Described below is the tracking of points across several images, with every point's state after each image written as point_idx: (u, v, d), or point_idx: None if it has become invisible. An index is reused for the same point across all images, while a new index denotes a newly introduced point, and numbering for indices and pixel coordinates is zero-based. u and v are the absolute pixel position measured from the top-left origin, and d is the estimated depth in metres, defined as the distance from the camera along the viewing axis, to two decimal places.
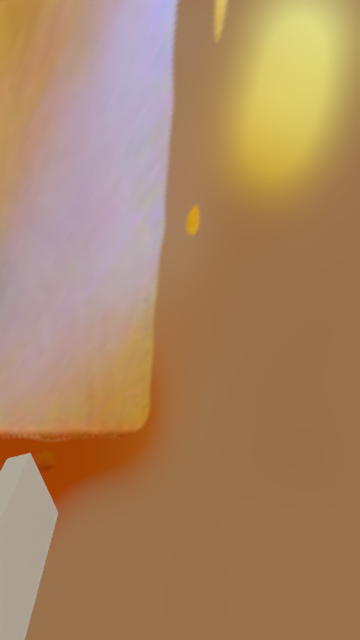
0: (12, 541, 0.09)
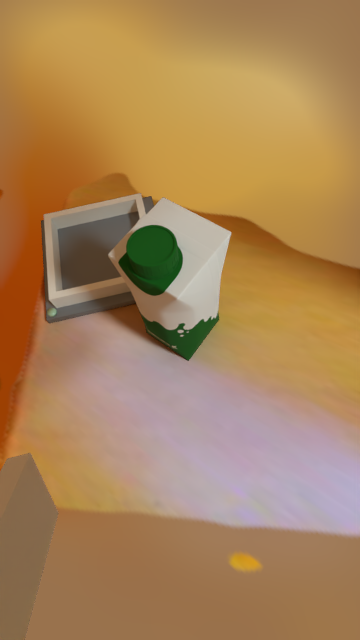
0: (12, 541, 0.09)
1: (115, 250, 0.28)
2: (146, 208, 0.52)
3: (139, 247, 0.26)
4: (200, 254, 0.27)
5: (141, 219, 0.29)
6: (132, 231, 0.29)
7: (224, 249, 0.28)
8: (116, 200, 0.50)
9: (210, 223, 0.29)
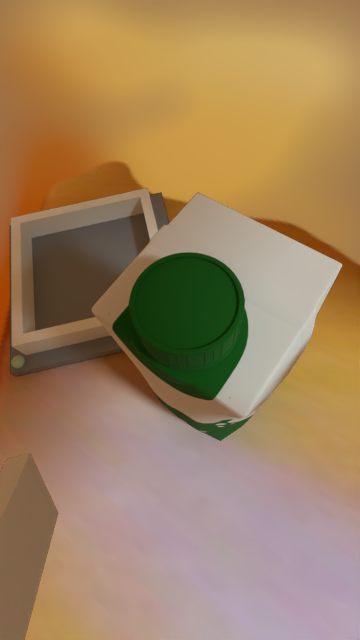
0: (12, 541, 0.09)
1: (106, 300, 0.14)
2: (154, 209, 0.38)
3: (158, 305, 0.11)
4: (284, 313, 0.13)
5: (158, 236, 0.15)
6: (140, 260, 0.14)
7: (324, 297, 0.14)
8: (113, 198, 0.35)
9: (296, 245, 0.14)
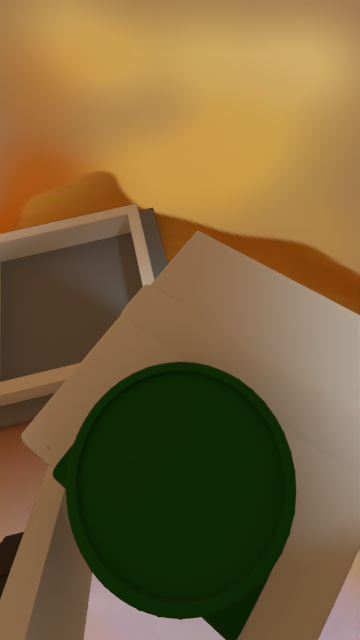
0: None
1: (46, 421, 0.08)
2: (145, 227, 0.32)
3: (125, 479, 0.06)
4: (352, 454, 0.07)
5: (135, 304, 0.09)
6: (106, 346, 0.09)
7: None
8: (95, 216, 0.30)
9: (358, 321, 0.09)
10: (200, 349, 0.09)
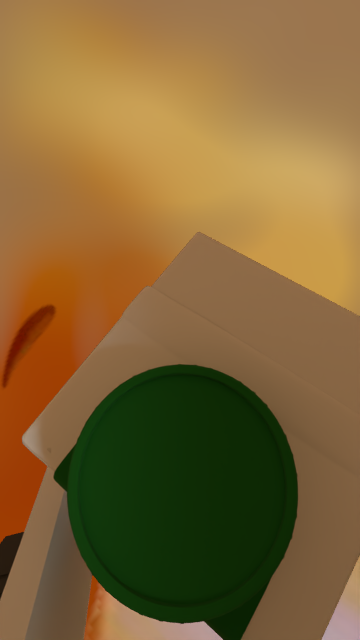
0: None
1: (47, 423, 0.08)
2: None
3: (126, 483, 0.06)
4: (354, 457, 0.07)
5: (136, 305, 0.09)
6: (107, 348, 0.09)
7: None
8: None
9: (359, 322, 0.09)
10: (201, 351, 0.09)
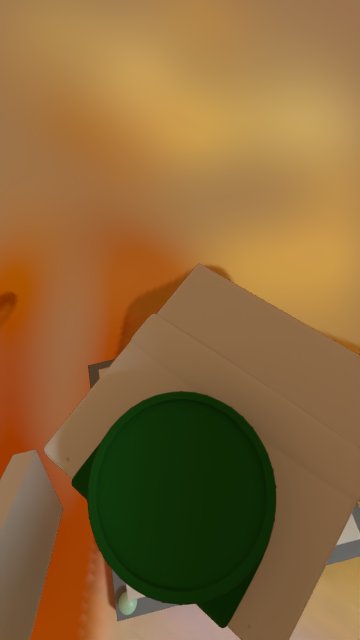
0: (19, 535, 0.09)
1: (65, 436, 0.09)
2: None
3: (136, 491, 0.07)
4: (330, 469, 0.09)
5: (143, 331, 0.11)
6: (117, 370, 0.10)
7: None
8: None
9: (340, 350, 0.10)
10: (200, 374, 0.10)
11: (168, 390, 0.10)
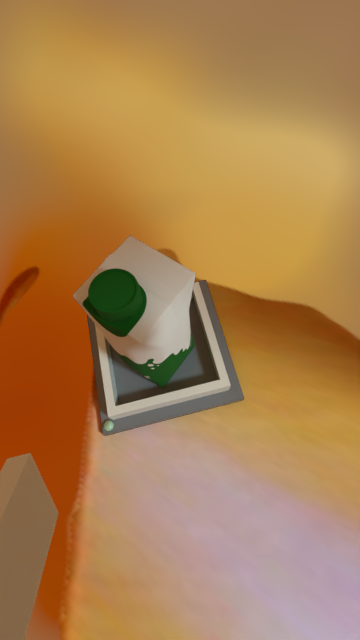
0: (12, 541, 0.09)
1: (80, 291, 0.28)
2: (202, 294, 0.48)
3: (101, 292, 0.26)
4: (164, 296, 0.27)
5: (107, 258, 0.29)
6: (98, 271, 0.29)
7: (189, 289, 0.29)
8: None
9: (175, 263, 0.29)
10: (126, 271, 0.28)
11: None
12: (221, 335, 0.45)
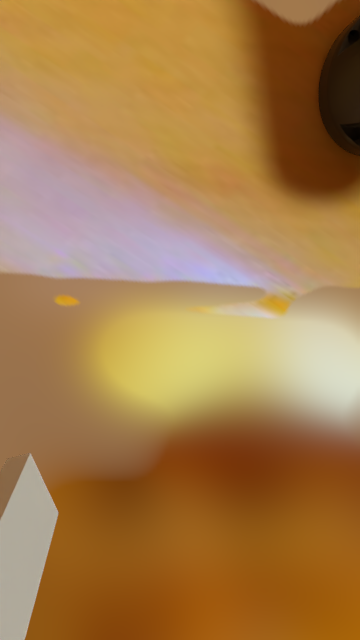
0: (12, 541, 0.09)
1: None
2: None
3: None
4: None
5: None
6: None
7: None
8: None
9: None
10: None
11: None
12: None
